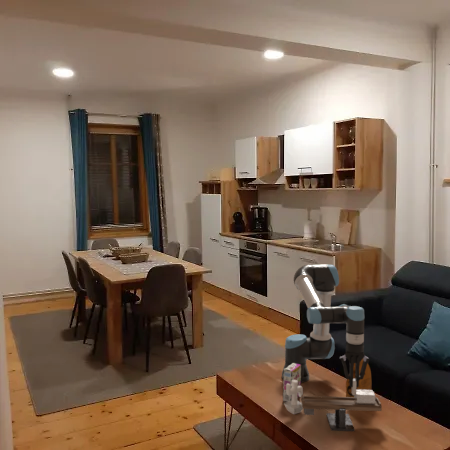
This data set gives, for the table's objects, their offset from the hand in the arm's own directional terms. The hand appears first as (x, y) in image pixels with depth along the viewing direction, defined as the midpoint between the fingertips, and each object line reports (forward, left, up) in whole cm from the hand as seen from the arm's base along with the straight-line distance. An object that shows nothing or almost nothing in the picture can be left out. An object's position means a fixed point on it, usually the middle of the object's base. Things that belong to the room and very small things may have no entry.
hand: (353, 393), depth 210 cm
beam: (0, -6, -9) cm, 10 cm away
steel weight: (0, +5, -4) cm, 6 cm away
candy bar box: (-24, -25, -14) cm, 38 cm away
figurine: (-10, -25, -14) cm, 31 cm away
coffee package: (-21, +7, -14) cm, 26 cm away
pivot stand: (0, -6, -14) cm, 15 cm away
